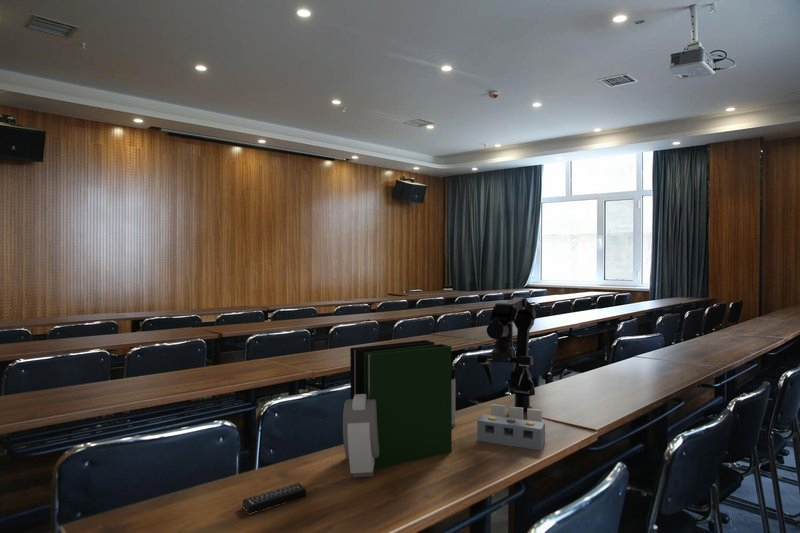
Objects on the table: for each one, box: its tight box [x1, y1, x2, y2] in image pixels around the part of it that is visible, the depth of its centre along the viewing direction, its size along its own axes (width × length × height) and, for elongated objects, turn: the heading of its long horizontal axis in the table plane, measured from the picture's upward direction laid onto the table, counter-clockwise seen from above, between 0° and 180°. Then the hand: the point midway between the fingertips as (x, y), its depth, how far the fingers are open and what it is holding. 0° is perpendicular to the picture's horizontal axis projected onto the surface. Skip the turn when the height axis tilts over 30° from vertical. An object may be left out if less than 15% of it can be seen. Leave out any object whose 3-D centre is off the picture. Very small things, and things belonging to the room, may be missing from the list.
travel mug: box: [451, 367, 457, 428], centre depth 174 cm, size 6×7×20 cm
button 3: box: [526, 408, 543, 434], centre depth 159 cm, size 8×4×6 cm, turn 154°
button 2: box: [508, 405, 524, 431], centre depth 162 cm, size 8×4×6 cm, turn 154°
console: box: [476, 414, 546, 451], centre depth 158 cm, size 7×20×7 cm, turn 64°
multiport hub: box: [242, 483, 307, 514], centre depth 119 cm, size 4×14×2 cm, turn 128°
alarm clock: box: [342, 394, 379, 478], centre depth 137 cm, size 18×8×20 cm, turn 179°
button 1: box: [490, 403, 506, 428], centre depth 165 cm, size 8×4×6 cm, turn 154°
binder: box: [349, 339, 453, 471], centre depth 149 cm, size 27×15×32 cm, turn 121°
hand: (504, 385), depth 170 cm, fingers open, 9 cm apart
